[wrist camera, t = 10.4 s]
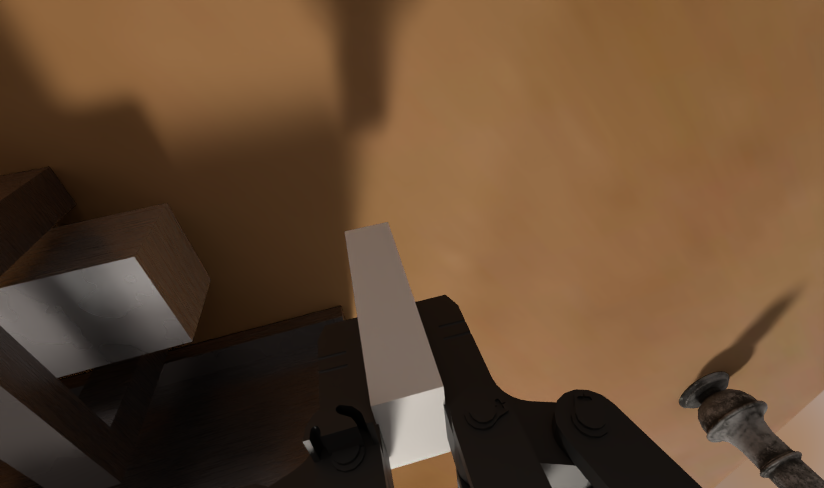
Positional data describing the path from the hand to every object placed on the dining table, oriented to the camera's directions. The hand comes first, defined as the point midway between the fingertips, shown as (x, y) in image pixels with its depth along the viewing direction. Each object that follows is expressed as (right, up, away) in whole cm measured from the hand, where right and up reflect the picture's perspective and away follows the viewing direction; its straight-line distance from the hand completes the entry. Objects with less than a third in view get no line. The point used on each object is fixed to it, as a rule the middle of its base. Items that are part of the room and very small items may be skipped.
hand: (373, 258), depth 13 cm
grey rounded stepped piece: (+30, -14, +24) cm, 41 cm away
